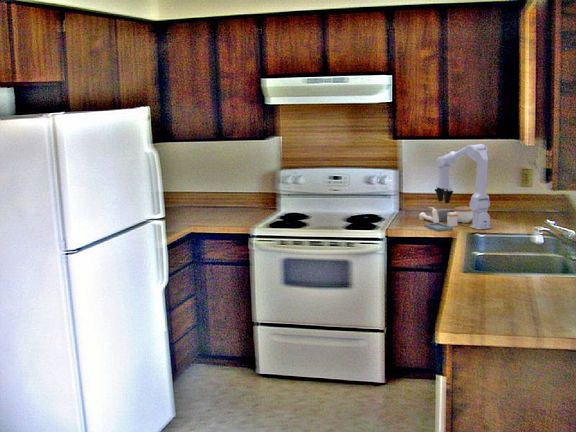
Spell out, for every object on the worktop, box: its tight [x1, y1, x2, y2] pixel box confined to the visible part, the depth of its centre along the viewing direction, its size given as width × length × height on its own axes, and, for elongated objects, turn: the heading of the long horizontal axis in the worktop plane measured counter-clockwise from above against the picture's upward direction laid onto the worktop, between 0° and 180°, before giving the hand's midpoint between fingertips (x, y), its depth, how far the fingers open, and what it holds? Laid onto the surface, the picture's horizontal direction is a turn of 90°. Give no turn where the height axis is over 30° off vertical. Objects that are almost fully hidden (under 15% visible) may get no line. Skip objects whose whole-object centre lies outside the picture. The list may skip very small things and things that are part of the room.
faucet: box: [418, 206, 439, 223], centre depth 421 cm, size 4×18×10 cm, turn 20°
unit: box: [436, 208, 453, 222], centre depth 422 cm, size 6×9×6 cm, turn 107°
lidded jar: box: [453, 204, 473, 224], centre depth 415 cm, size 11×11×9 cm
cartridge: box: [446, 211, 459, 227], centre depth 406 cm, size 4×4×7 cm
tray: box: [423, 222, 454, 232], centre depth 400 cm, size 15×9×2 cm, turn 17°
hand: (443, 202), depth 419 cm, fingers open, 7 cm apart
